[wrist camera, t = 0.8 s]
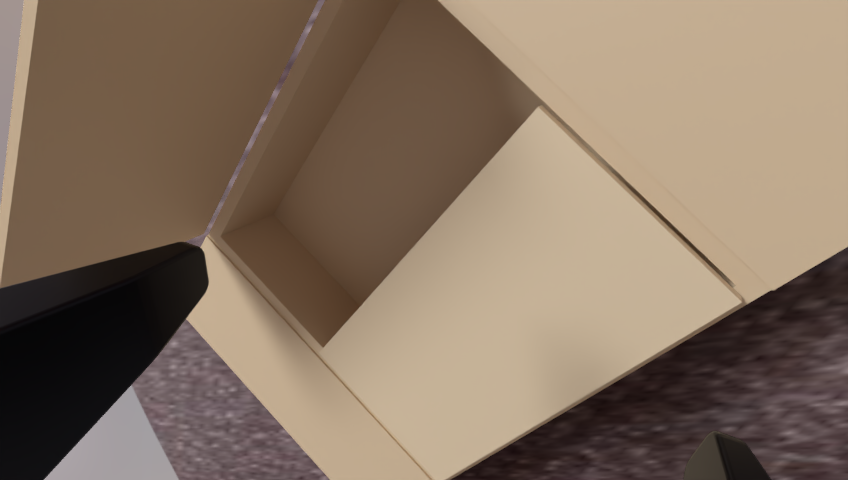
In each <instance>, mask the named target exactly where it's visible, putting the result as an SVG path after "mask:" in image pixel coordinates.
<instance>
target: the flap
mask: <svg viewBox="0 0 848 480" xmlns="http://www.w3.org/2000/svg"><path fill="white" fill-rule="evenodd" d="M317 1H318V0H24V7H23V15H22V25H21V34H20V41H19V50H18V59H17V68H16V76H15V85H14V94H13V103H12V111H11V120H10V129H9V137H8V146H7V154H6V163H5V172H4V181H3V189H2V198H1V206H0V288H3V287H7V286H10V285H14V284H18V283H22V282H26V281H30V280H34V279H37V278H41V277H45V276H49V275H53V274H57V273H60V272H64V271H68V270H72V269H76V268H80V267H84V266H87V265H91V264H95V263H99V262H103V261H107V260H111V259H114V258H118V257H122V256H126V255H130V254H134V253H138V252H141V251H145V250H149V249H153V248H157V247H161V246H164V245H168V244H172V243H176V242H184V241H187V240H189V239H192V238H194V237H197V236H199V235H202V234H204V232H205V230H206V228H207V226H208V224H209V222H210V220H211V218H212V216H213V214H214V212H215V210H216V208H217V206H218V204H219V202H220V200H221V197H222V195H223V193H224V191H225V189H226V187H227V185H228V183H229V181H230V179H231V177H232V175H233V173H234V171H235V169H236V167H237V165H238V163H239V161H240V159H241V157H242V155H243V153H244V151H245V148H246V146H247V144H248V142H249V140H250V138H251V136H252V134H253V132H254V130H255V128H256V126H257V124H258V122H259V120H260V118H261V116H262V114H263V112H264V110H265V108H266V106H267V104H268V101H269V99H270V97H271V95H272V93H273V91H274V89H275V87H276V85H277V83H278V81H279V79H280V77H281V75H282V73H283V71H284V69H285V67H286V65H287V63H288V61H289V59H290V57H291V54H292V52H293V50H294V48H295V46H296V44H297V42H298V40H299V38H300V36H301V34H302V32H303V30H304V28H305V26H306V24H307V22H308V20H309V18H310V16H311V14H312V12H313V10H314V7H315V5H316V3H317Z"/></svg>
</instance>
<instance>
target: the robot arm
mask: <svg viewBox="0 0 848 480" xmlns="http://www.w3.org/2000/svg"><path fill="white" fill-rule="evenodd" d="M208 285H209V278H208V272H207V265H206V259H205V254H204V251H203V250H202V248H200V247H198V246H195V245H192V244H189V243H187V242H176V243H172V244H168V245H164V246H161V247H157V248H153V249H149V250H145V251H141V252H138V253H134V254H130V255H126V256H122V257H118V258H114V259H111V260H107V261H103V262H99V263H95V264H91V265H87V266H84V267H80V268H76V269H72V270H68V271H64V272H60V273H57V274H53V275H49V276H45V277H41V278H37V279H34V280H30V281H26V282H22V283H18V284H14V285H10V286H7V287H3V288H0V480H44V479H45V478H46V477H47V476H48V474H49V473H50V472H51V471H52V470H53V469H54V468H55V467H56V466H57V465H58V464H59V463H60V462H61V460H62V459H63V458H64V457H65V456H66V455H67V454H68V453H69V452H70V451H71V450H72V448H73V447H74V446H75V445H76V444H77V443H78V442H79V441H80V440H81V439H82V438H83V437H84V436H85V434H86V433H87V432H88V431H89V430H90V429H91V428H92V427H93V426H94V425H95V424H96V423H97V421H98V420H99V419H100V418H101V417H102V416H103V415H104V414H105V413H106V412H107V411H108V410H109V408H110V407H111V406H112V405H113V404H114V403H115V402H116V401H117V400H118V399H119V398H120V397H121V395H122V394H123V393H124V392H125V391H126V390H127V389H128V388H129V387H130V386H131V385H132V384H133V382H134V381H135V380H136V379H137V378H138V377H139V376H140V375H141V374H142V373H143V372H144V371H145V369H146V368H147V367H148V366H149V365H150V364H151V363H152V362H153V361H154V359H155V358H156V357H157V356H158V355H159V353H160V352H161V351H162V350H163V348H164V347H165V346H166V345H167V343H168V342H169V341H170V339H171V338H172V337H173V335H174V334H175V333H176V331H177V330H178V329H179V327H180V326H181V325H182V323H183V322H184V321H185V319H186V318H187V317H188V316H189V314H190V313H191V312H192V310H193V309H194V308H195V306H196V305H197V304H198V302H199V301H200V300H201V298H202V297H203V296H204V294H205V293H206V291H207V288H208ZM684 480H771V478H770V477H769V475H768V474H767V473H766V471H765V470H764V468H763V467H762V465H761V464H760V463H759V461H758V460H757V458H756V457H755V455H754V454H753V453H752V451H751V450H750V448H749V447H748V446H747V444H746V443H745V442H743V441H742V440H740V439H738V438H735V437H732V436H730V435H727V434H724V433H721V432H718V431H713V432H711V433H709V434H708V435H707V436H706V438H705V439H704V440H703V442H702V443H701V444H700V446H699V447H698V448H697V450H696V451H695V452H694V454H693V455H692V456H691V458H690V459H689V461H688V463H687V465H686V468H685V472H684Z"/></svg>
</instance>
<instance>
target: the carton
mask: <svg viewBox="0 0 848 480" xmlns="http://www.w3.org/2000/svg"><path fill="white" fill-rule="evenodd" d="M847 247H848V0H325V2H324V4H323V6H322V8H321V10H320V12H319V14H318V16H317V18H316V20H315V22H314V24H313V26H312V28H311V30H310V32H309V34H308V36H307V38H306V40H305V42H304V44H303V46H302V48H301V50H300V52H299V54H298V56H297V58H296V60H295V62H294V64H293V66H292V68H291V70H290V72H289V74H288V76H287V78H286V80H285V82H284V84H283V86H282V88H281V90H280V92H279V94H278V96H277V98H276V100H275V102H274V104H273V106H272V108H271V110H270V112H269V114H268V116H267V118H266V120H265V122H264V124H263V126H262V128H261V130H260V132H259V134H258V136H257V138H256V140H255V142H254V144H253V146H252V148H251V150H250V152H249V154H248V156H247V158H246V160H245V162H244V164H243V166H242V168H241V170H240V172H239V174H238V176H237V178H236V180H235V182H234V184H233V186H232V188H231V190H230V192H229V194H228V196H227V199H226V201H225V203H224V205H223V207H222V209H221V211H220V213H219V215H218V217H217V219H216V221H215V223H214V225H213V227H212V229H211V231H210V233H209V235H208V236H206V238H205V240H204V242H203V244H202V246H201V248H202V250H203V251H204V254H205V259H206V265H207V272H208V278H209V285H208V288H207V291H206V293H205V294H204V296H203V297H202V298H201V300H200V301H199V302H198V304H197V305H196V306H195V308H194V309H193V310H192V312H191V313H190V314H189V316H188V317H187V318H186V319H187V320H188V321H189V322H190V323H191V325H192V326H193V327H194V328H195V329H196V330H197V331H198V332H199V334H200V335H201V336H202V337H203V338H204V339H205V340H206V341H207V342H208V344H209V345H210V346H211V347H212V348H213V349H214V350H215V351H216V353H217V354H218V355H219V356H220V357H221V358H222V359H223V360H224V361H225V363H226V364H227V365H228V366H229V367H230V368H231V369H232V370H233V372H234V373H235V374H236V375H237V376H238V377H239V378H240V379H241V381H242V382H243V383H244V384H245V385H246V386H247V387H248V388H249V389H250V391H251V392H252V393H253V394H254V395H255V396H256V397H257V398H258V400H259V401H260V402H261V403H262V404H263V405H264V406H265V407H266V408H267V410H268V411H269V412H270V413H271V414H272V415H273V416H274V417H275V419H276V420H277V421H278V422H279V423H280V424H281V425H282V426H283V428H284V429H285V430H286V431H287V432H288V433H289V434H290V435H291V436H292V438H293V439H294V440H295V441H296V442H297V443H298V444H299V445H300V447H301V448H302V449H303V450H304V451H305V452H306V453H307V454H308V455H309V457H310V458H311V459H312V460H313V461H314V462H315V463H316V464H317V466H318V467H319V468H320V469H321V470H322V471H323V472H324V473H325V474H326V476H327V477H328V478H329V479H330V480H451V479H452V478H454V477H456V476H458V475H459V474H461V473H463V472H464V471H466V470H468V469H469V468H471V467H473V466H474V465H476V464H478V463H480V462H481V461H483V460H485V459H486V458H488V457H490V456H491V455H493V454H495V453H496V452H498V451H500V450H502V449H503V448H505V447H507V446H508V445H510V444H512V443H513V442H515V441H517V440H518V439H520V438H522V437H523V436H525V435H527V434H529V433H530V432H532V431H534V430H535V429H537V428H539V427H540V426H542V425H544V424H545V423H547V422H549V421H551V420H552V419H554V418H556V417H557V416H559V415H561V414H562V413H564V412H566V411H567V410H569V409H571V408H573V407H574V406H576V405H578V404H579V403H581V402H583V401H584V400H586V399H588V398H589V397H591V396H593V395H595V394H596V393H598V392H600V391H601V390H603V389H605V388H606V387H608V386H610V385H611V384H613V383H615V382H617V381H618V380H620V379H622V378H623V377H625V376H627V375H628V374H630V373H632V372H633V371H635V370H637V369H639V368H640V367H642V366H644V365H645V364H647V363H649V362H650V361H652V360H654V359H655V358H657V357H659V356H661V355H662V354H664V353H666V352H667V351H669V350H671V349H672V348H674V347H676V346H677V345H679V344H681V343H683V342H684V341H686V340H688V339H689V338H691V337H693V336H694V335H696V334H698V333H699V332H701V331H703V330H705V329H706V328H708V327H710V326H711V325H713V324H715V323H716V322H718V321H720V320H721V319H723V318H725V317H727V316H728V315H730V314H732V313H733V312H735V311H737V310H738V309H740V308H742V307H743V306H745V305H747V304H749V303H750V302H752V301H754V300H755V299H757V298H759V297H760V296H762V295H764V294H765V293H767V292H769V291H770V290H773V291H774V290H775V289H777V288H779V287H780V286H782V285H784V284H785V283H787V282H789V281H791V280H792V279H794V278H796V277H797V276H799V275H801V274H802V273H804V272H806V271H807V270H809V269H811V268H813V267H814V266H816V265H818V264H819V263H821V262H823V261H824V260H826V259H828V258H830V257H831V256H833V255H835V254H836V253H838V252H840V251H841V250H843V249H845V248H847Z"/></svg>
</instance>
